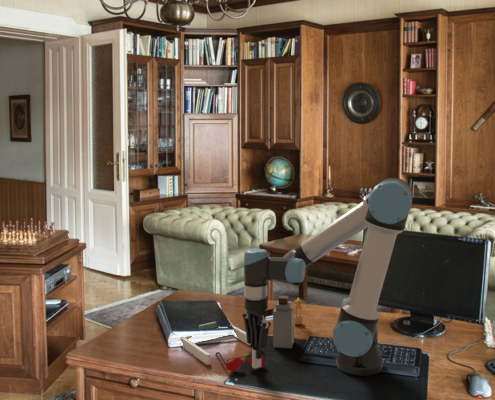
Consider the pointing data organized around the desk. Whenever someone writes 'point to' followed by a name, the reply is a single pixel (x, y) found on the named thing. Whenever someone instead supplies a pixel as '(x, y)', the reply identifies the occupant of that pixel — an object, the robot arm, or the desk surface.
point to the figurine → (298, 318)
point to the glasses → (239, 362)
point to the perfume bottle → (283, 323)
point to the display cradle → (200, 352)
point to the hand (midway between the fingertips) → (256, 366)
